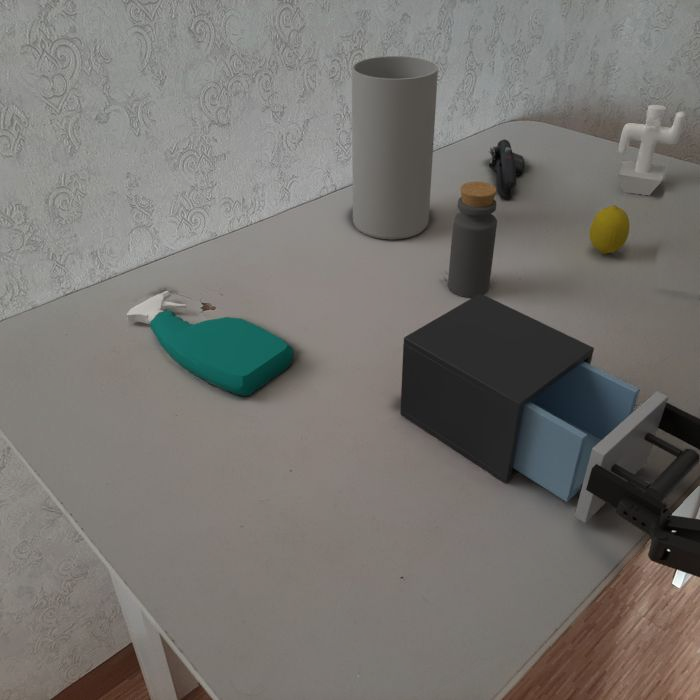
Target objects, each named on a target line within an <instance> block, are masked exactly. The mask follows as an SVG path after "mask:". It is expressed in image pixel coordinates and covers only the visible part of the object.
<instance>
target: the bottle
mask: <svg viewBox="0 0 700 700" xmlns="http://www.w3.org/2000/svg"><path fill="white" fill-rule="evenodd" d="M459 189H460V197H459V198H458V200H457V205H456V206H457V209H458V211H459V212H457V214H455V215H454V217H453V220H452V221H453V222H452V231H451V241H450V242H451V243H450V256H449V266H448V279H447V287H448V290H449V291H450V292H451V293H453V294H455V295H457V296H459V297H464V298H473V297H475V296H476V295H478V294H483V295H485V294H487V293H488V291H489V288H490V282H491V276H492V268H493V260H494V252H495V244H496V235H497V226H498V220H497V218H496V216H495V215H494V213H495V212H496V210H497V204H498V203H497V200H496V199H495V197H496V195H497V191H498V188H496V186H494V184H491V183H489V182H484V181H469V182H466V183H463V184H462V185H461V186H460V188H459Z"/></svg>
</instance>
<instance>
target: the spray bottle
mask: <svg viewBox="0 0 700 700" xmlns="http://www.w3.org/2000/svg"><path fill="white" fill-rule="evenodd" d="M171 297H172V295H171V293H170V291H169V290H165V291H163V292H161V293H157V294H155V295H154V296H151V297H149V298H147V299H146V300H144V301H143V302H140V303H138V304H137V305H135V306H132V307H131V308H130V309H129V310H128V312H127V313H126V319H127V323H143V324H147V325H149V326H150V330H151V331H152V332H153V335H154V336H155V337H156V339H157V341H158V342H159V344H160V346H161V347H162V348H163V349H164V351H165V352H166V353H167V354H168V356H169V357H170V358H172V360H174V361H175V363H177V364H178V365H180V366H181V367H183V368H184V369H185V370H187V371H188V372H190V373H192V374H193V375H194V376H196V377H198V378H200V379H202V380H204V381H206V382H208V383H209V384H212V385H214V386H215V387H218V388H220V389H222V390H224V391H227V392H229V393H232V394H234V395H237V396H242V397H248V396H250V395H251V394H253V393H254V392H256V391H257V390H259V389H260V388H261V387H263V386H264V385H266V384H267V383H269V382H270V381H271V380H273V379H274V378H276V377H277V376H278V375H280V374H281V373H283V372H284V371H287V369H288V368H289V366H290V365H291V364H292V362H293V361H294V354H295V352H294V348H293V347H292V346H291V345H290V344H289V343H287V342H286V341H285V340H284V339H282V338H281V337H279V336H277V335H276V334H274V333H272V332H270V331H268V330H267V329H266V328H263V327H261V326H260V325H257V324H255V323H252V322H250V321H247V320H245V319H243V318H238V317H230V316H225V317H219V318H213V319H212V318H211V319H206V320H203V321H200V322H196V323H190V322H189V321H187V320H183V318H181V317H180V316H177V315H176V313H175V312H174V311H173V310H170V309H187V304H184V303H177V302H172V301H167V300H168V299H169V298H171Z"/></svg>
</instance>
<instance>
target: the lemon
mask: <svg viewBox="0 0 700 700" xmlns="http://www.w3.org/2000/svg"><path fill="white" fill-rule="evenodd" d="M629 219H630V218H629V216H628V214H627V213H626V211H625V210H623V209H622V208H620V207H618V205H616V204H613V205H611V206H606V207H604V208H602V209H600V210H599V211H598V212H597V213H596V214H595V215H594V217H593V219H592V221H591V224H590V227H589V240H590V243H591V245H592V246H593V247H594V248H595V250H597V251H598V252H600V253H601V254H602V255H607V254H609V253H610V254H611V253H614V252H617V251H619V250H620V249H621V248H622V247H623V246H624V245H625V244H626V242H627V239H628V237H629V234H630V220H629Z"/></svg>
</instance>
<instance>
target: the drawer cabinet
mask: <svg viewBox="0 0 700 700" xmlns="http://www.w3.org/2000/svg"><path fill="white" fill-rule="evenodd" d="M402 346H403V347H402V366H401V367H402V369H401V371H402V372H401V388H400V389H401V390H400V391H401V392H400V413H399V414H400V416H402V417H404V418H405V419H406V420H408V421H410V422H411V423H413V424H414V425H416V426H417V427H418V428H420V429H422V430H423V431H425V432H426V433H428V434H429V435H431V436H432V437H434V438H435V439H437V440H438V441H439V442H441V443H443V444H444V445H446V446H447V447H449V448H450V449H451V450H454V451H455V452H456V453H458V454H459V455H461V457H464V458H465V459H467V460H469V461H470V462H472V463H473V464H474V465H476V466H477V467H478V468H481V469H482V470H484V471H485V472H487V473H488V474H490V475H491V476H493V477H494V478H496V479H497V480H499V481H500V482H502V483H503V484H505V485H507V484H508V483H509V482H511V480H513V479H514V478H515V477H517V475H518V474H521V473H520V472H519V471H517V470H516V469H514V468H513V464H514V458H515V452H516V447H517V441H518V436H519V430H520V424H521V419H522V413H523V406H525V405H526V404H527V403H529V402H530V401H531V400H533V399H534V398H535V397H536V396H538V395H539V394H540V393H542V392H543V391H544V390H546V389H547V388H548V387H550V386H551V385H552V384H554V383H555V382H556V381H558V380H559V379H560V378H562V377H563V376H564V375H566V374H567V373H568V372H569V371H571V370H572V369H573V368H575V367H576V366H577V365H579V364H580V363H581V362H583V361H584V362H586V363H588V364H590V365H591V363H592V359H593V355H594V351H595V348H594V347H593V346H591V345H589V344H587V343H585V342H582V341H581V340H579V339H576V338H574V337H572V336H571V335H568V334H567V333H564V332H562V331H561V330H558V329H555V328H553V327H551V326H549V325H548V324H546V323H543V322H541V321H539V320H537V319H535V318H533V317H530V316H529V315H526V314H524V313H522V312H520V311H518V310H516V309H513V308H512V307H510V306H508V305H506V304H503V303H502V302H499V301H498V300H495V299H493V298H491V297H489V296H487V295H485V294H484V295H483V294H478V295H476V296H475V297H470V299H468V300H466V301H463V303H461V304H459V305H458V306H456V307H453V309H450V310H449V311H447V312H445V313H444V314H442V315H440V316H439V317H437V318H435V319H433V320H432V321H430V322H428V323H426V324H425V325H423V326H420V328H418V329H416V330H414V331H413V332H410V333H409V334H407V335H406V336H404V337H403V344H402Z"/></svg>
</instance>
